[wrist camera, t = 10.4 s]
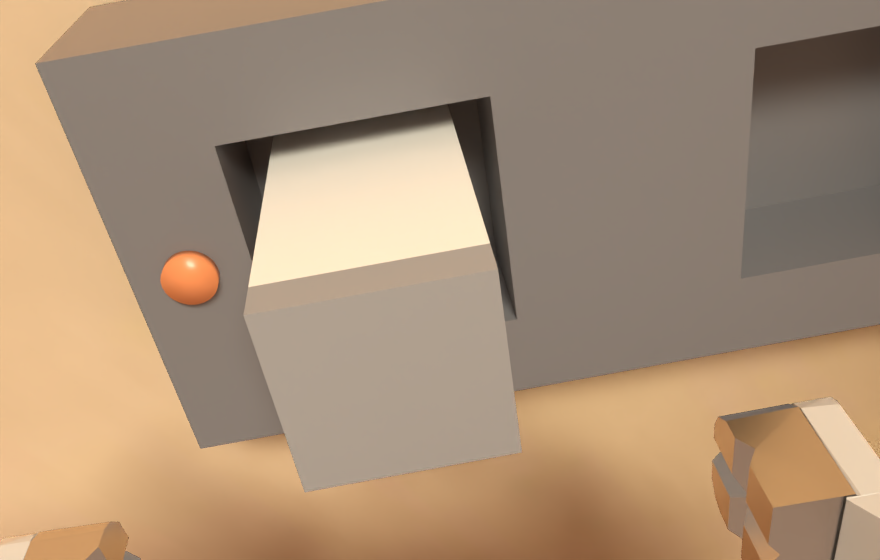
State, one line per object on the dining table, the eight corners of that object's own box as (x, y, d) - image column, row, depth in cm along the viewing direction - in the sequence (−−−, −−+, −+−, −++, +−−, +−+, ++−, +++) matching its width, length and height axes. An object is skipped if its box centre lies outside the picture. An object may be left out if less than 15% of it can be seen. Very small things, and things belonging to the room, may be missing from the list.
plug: (443, 90, 19) (498, 269, 13) (465, 235, 22) (522, 452, 15) (276, 120, 19) (243, 315, 13) (315, 262, 22) (304, 492, 15)
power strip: (1046, -166, 19) (1213, -145, 15) (959, 216, 24) (1067, 298, 21) (89, 7, 19) (30, 68, 15) (219, 351, 24) (198, 456, 20)
